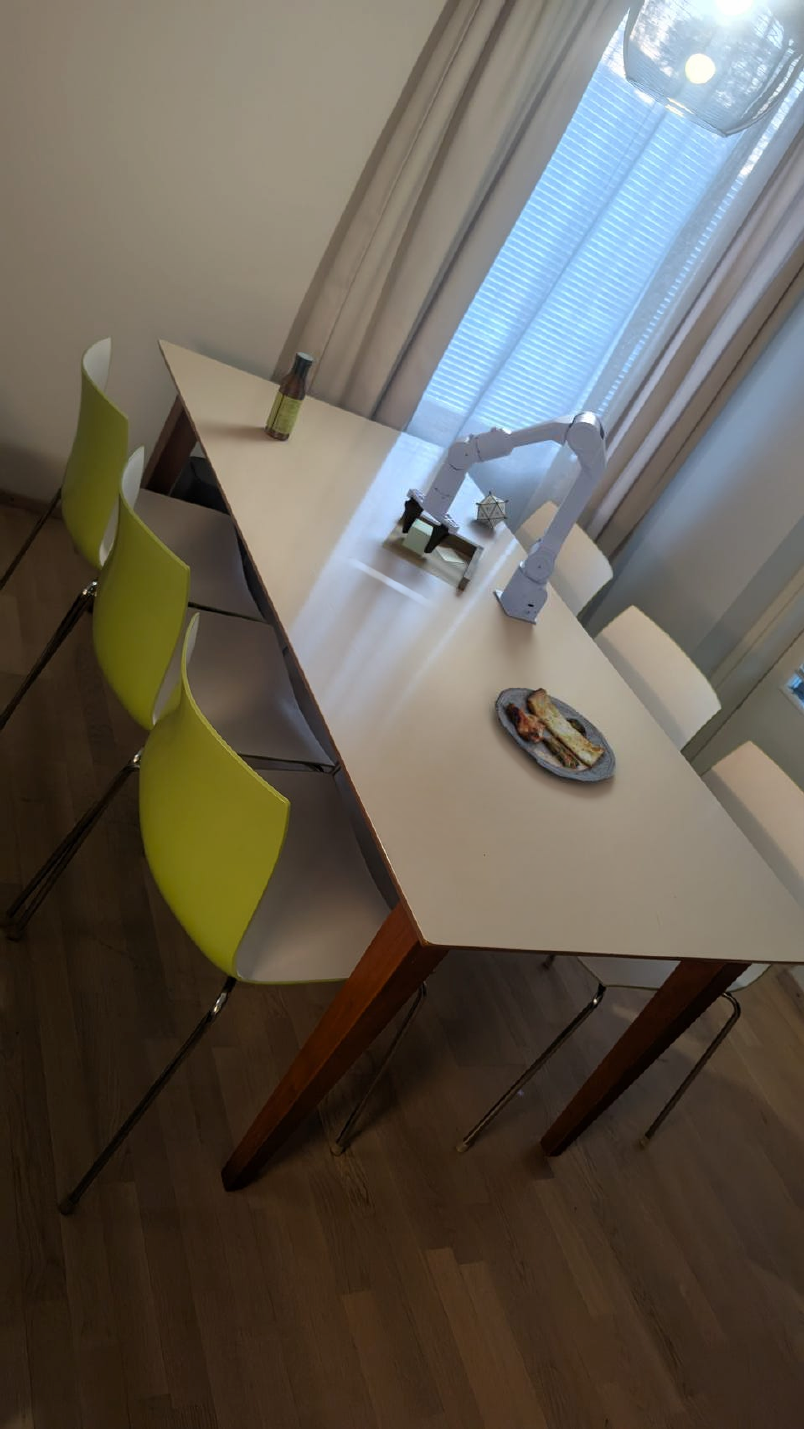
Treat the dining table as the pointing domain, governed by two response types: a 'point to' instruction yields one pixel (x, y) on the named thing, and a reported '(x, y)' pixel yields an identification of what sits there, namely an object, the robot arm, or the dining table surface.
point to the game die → (491, 510)
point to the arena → (439, 555)
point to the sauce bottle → (289, 399)
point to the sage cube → (418, 536)
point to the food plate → (555, 733)
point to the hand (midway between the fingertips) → (416, 542)
